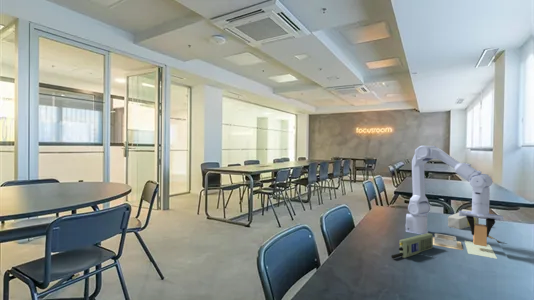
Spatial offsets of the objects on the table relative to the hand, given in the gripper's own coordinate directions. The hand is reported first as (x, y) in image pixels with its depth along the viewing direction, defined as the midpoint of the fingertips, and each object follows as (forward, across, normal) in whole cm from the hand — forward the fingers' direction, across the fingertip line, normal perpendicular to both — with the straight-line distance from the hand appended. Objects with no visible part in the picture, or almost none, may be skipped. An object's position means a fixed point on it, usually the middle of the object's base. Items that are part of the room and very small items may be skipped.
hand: (479, 235), depth 113 cm
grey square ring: (+6, -12, 0) cm, 14 cm away
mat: (+6, 0, 0) cm, 6 cm away
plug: (+4, 0, 0) cm, 4 cm away
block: (+7, -4, +41) cm, 41 cm away
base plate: (+6, -12, 0) cm, 14 cm away
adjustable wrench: (+7, +7, +26) cm, 28 cm away
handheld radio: (+7, -23, -20) cm, 32 cm away
